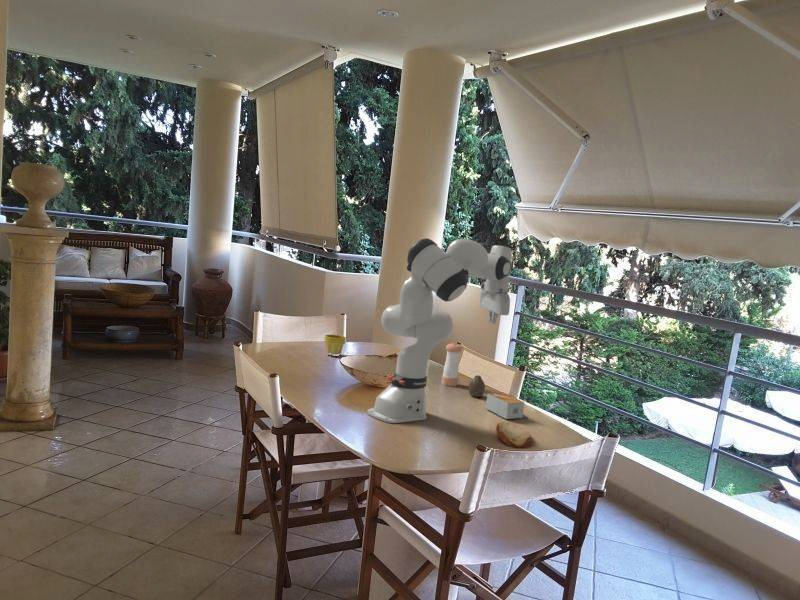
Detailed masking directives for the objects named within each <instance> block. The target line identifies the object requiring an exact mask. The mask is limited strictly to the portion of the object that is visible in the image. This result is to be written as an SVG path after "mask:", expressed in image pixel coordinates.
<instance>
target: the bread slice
mask: <svg viewBox="0 0 800 600" xmlns="http://www.w3.org/2000/svg"><path fill="white" fill-rule="evenodd" d="M495 430H496V435H497V437H498V439H499V440H501V442H503V443H504V444H505V445H507V446H508V447H510V448H512V449H513V448H514V449H519V450H520V449H526V448H528V447H529V446H532V443H533V439H532V435H531V433H530V432H529V431H527V430H526V429H524V428H522V427H521V426H517V425H516V424H513V423H509V422H506V421H501V420H499V421H498V422H497V424H496V427H495Z"/></svg>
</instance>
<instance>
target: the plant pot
mask: <svg viewBox="0 0 800 600" xmlns="http://www.w3.org/2000/svg"><path fill="white" fill-rule="evenodd" d="M346 339H347V337H346V336H344V335H340V334H334V333H333V334H325V335H324V344H325V350H326V354H327V353H331V354H340V353H341V354H342V351H343V349H344V345H345V344H346ZM341 354H340V355H341Z"/></svg>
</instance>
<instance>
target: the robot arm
mask: <svg viewBox="0 0 800 600" xmlns="http://www.w3.org/2000/svg"><path fill="white" fill-rule="evenodd" d="M512 251H513V250H512V248H511V247H509V246H506V245H501V244H494V245H492V246H491V249H490V252H488V251H487V250H486V248H485V247H484V245H482V244H481V243H480V242H477V241H476V240H472V239H468V238H459V239H455V240H453V241H451V242H450V243H449V245H448V247H447V248H446V252H445V251H444V250H443V249H442V248H441V247H439V246H438V243H437V242H435V241H433V239H430V238H422V239H419V240H417V241H416V242H415V243H414V244H412V246H411V247H410V248H409V250H408V253H407V258H406V259H407V260H406V261H407V266H406V269H407V271H408V272H411V273H410V274H411V275H410V277H409V278H407V279H406V280H405V281H404V283H403V284H402V286H401V289H400V293H399V303H398V304H393V305H388V306H387V307H386V308H385V309H384V310H383V312H382V315H381V318H380V323H381V326H382V328H383V330H384V332H385V333H388V334H392V335H395V336H397V337H406V338H413V339H416V342H415V343H414V344H411V345H408V346H406V347H404V348H402V349H401V350H400V351H399V352H398V354H397V358H396V359H397V360H396V369H395V373H394V375H390V374H388V375H387V376H386V381H389V382H390V384H389V386H387V387H386V388H384V390H383V391H382V392H380V394H378V395H377V396H376V398H375V402H374V407H371V408H368V409H367V411H366V413H367V415H369V416H371V417H372V418H375V419H377V420H378V421H379V420H380V421H382V422H385V423H390V424H397V423H398V424H399V423H400V424H401V423H406V422H407V423H408V422H417V421H425V420H428V419H427V418H428V417H427V412H426V406H427V405H426V402H427V401H426V391H425V390H426V387H427V382H428V380H427V379H428V377H427V370H428V364H429V361H430V357H431V354H432V352H433V350H434V349H435V347H437V346H438V344H439V343H442V342H443V341H444V340H447V339H448V338H449V337H450V335H451V333H452V331H453V327H454V326H453V325H454V324H453V318H452V317H451V315H450V314H449V313H447V312H446V311H442V310H438V309H434V308H433V307H434V305H433V304H434V294H433V292H434V293H435V296H437V298H439V299H440V300H441V301H444V302H452V301H454V300H455V299H458V298H459V297H460V296H461V295H463V293H464V292H465V291H466V289H467V286H468V281H469V279H468V278H476V279H483V280H485V281H484V282H482V283H481V284H480V289H481V291H480V298H479V307H480V308H483V309H485V310H487V311H488V312H487V313H488V322H489V323H490V324H491V325H492V324H494V325H495V324H497V320H498V317H499V316H509V313H510V310H511V308H510V307H511V298H510V295H509V286H510V274H511V270H512V264H513V263H512V262H513V260H512V259H513V253H512Z"/></svg>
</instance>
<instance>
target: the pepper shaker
mask: <svg viewBox="0 0 800 600" xmlns="http://www.w3.org/2000/svg"><path fill="white" fill-rule="evenodd" d="M445 350H446V357H445V359H446V360H445V362H444V365H443V374H442V376H441V385H442V386H446V385H447V386H448V387H457V386H458V384H459V371H460V370H459V369H460V367H459V359H460V353H461V352H462V350H463V349H462V346H461V345H460V344H458V343H457V342H455V341H454V342H452V343H448V344H447V345H446V346H445Z"/></svg>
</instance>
